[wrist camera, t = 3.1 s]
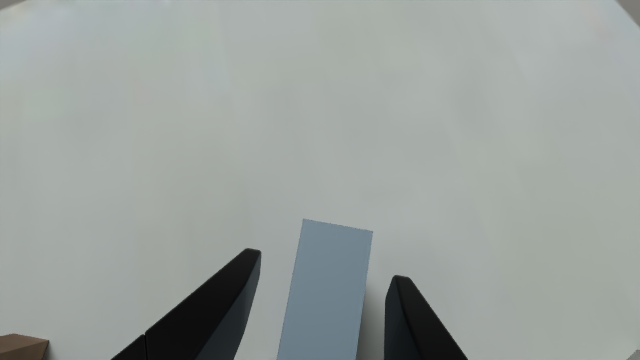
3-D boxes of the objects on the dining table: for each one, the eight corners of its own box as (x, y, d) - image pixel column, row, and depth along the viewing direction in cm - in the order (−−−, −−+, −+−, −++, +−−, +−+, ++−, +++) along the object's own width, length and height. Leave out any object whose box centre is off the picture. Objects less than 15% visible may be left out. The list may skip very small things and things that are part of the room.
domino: (338, 251, 16) (373, 231, 8) (321, 365, 15) (337, 493, 6) (306, 245, 16) (303, 218, 8) (285, 358, 15) (253, 477, 6)
